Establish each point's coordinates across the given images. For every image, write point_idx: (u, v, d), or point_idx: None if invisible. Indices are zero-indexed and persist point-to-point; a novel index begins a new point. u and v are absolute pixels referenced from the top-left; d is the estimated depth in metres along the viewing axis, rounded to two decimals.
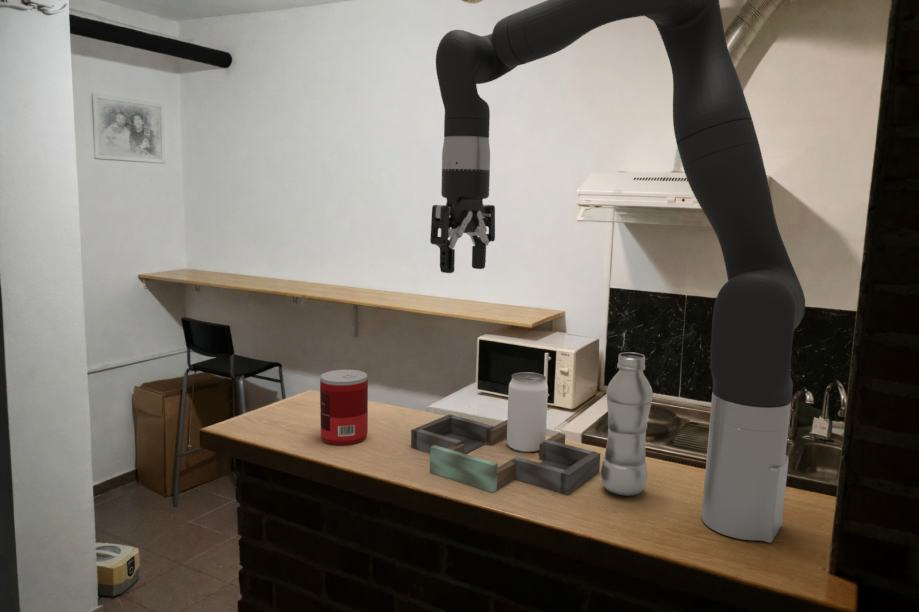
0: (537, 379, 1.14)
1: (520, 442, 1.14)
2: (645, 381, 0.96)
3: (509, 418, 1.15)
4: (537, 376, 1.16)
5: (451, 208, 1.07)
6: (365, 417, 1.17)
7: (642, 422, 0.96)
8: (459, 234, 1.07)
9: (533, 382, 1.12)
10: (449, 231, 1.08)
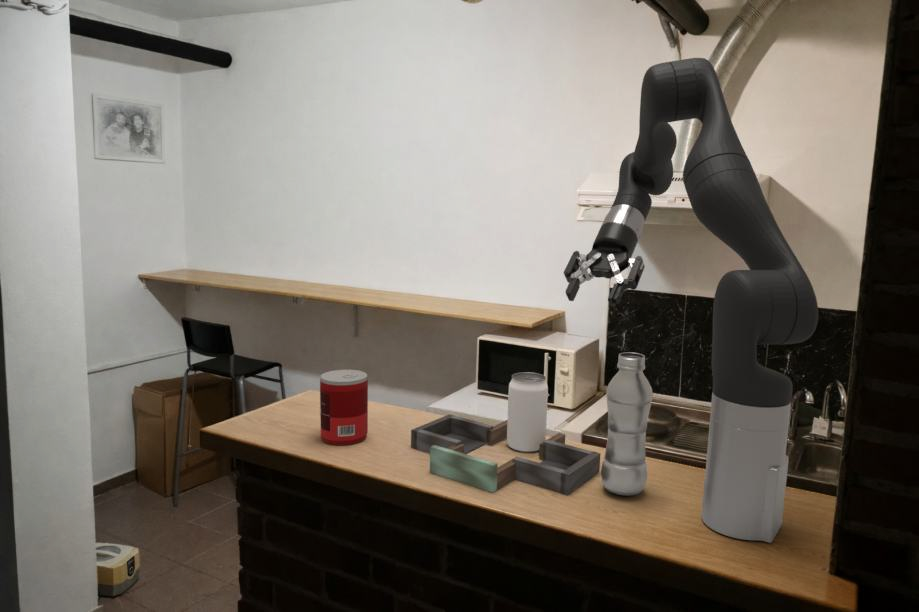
0: (537, 379, 1.14)
1: (520, 442, 1.14)
2: (645, 381, 0.96)
3: (509, 418, 1.15)
4: (537, 376, 1.16)
5: (587, 255, 1.33)
6: (365, 417, 1.17)
7: (642, 422, 0.96)
8: (581, 268, 1.30)
9: (533, 382, 1.12)
10: None
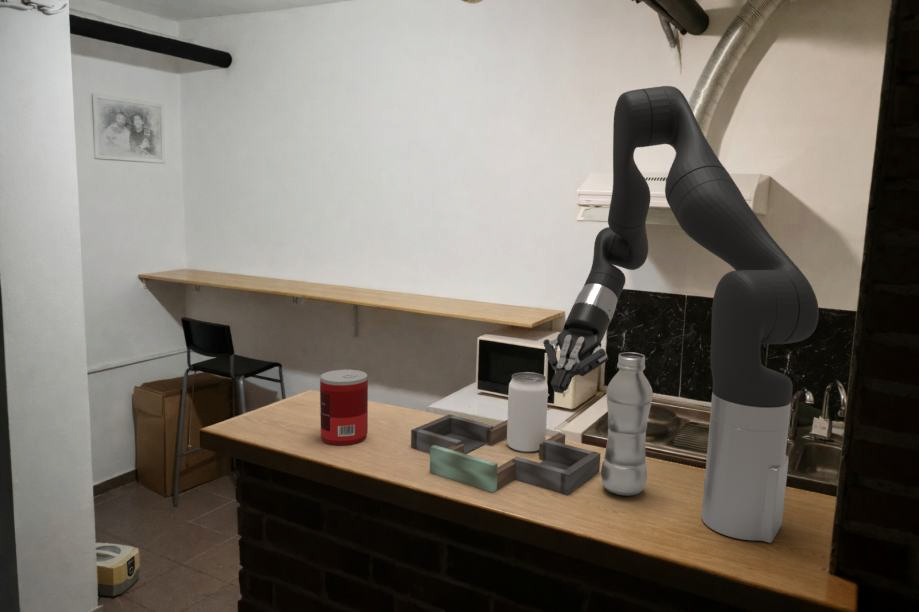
0: (537, 379, 1.14)
1: (520, 442, 1.14)
2: (645, 381, 0.96)
3: (509, 418, 1.15)
4: (537, 376, 1.16)
5: (557, 339, 1.30)
6: (365, 417, 1.17)
7: (642, 422, 0.96)
8: (562, 355, 1.26)
9: (533, 382, 1.12)
10: None
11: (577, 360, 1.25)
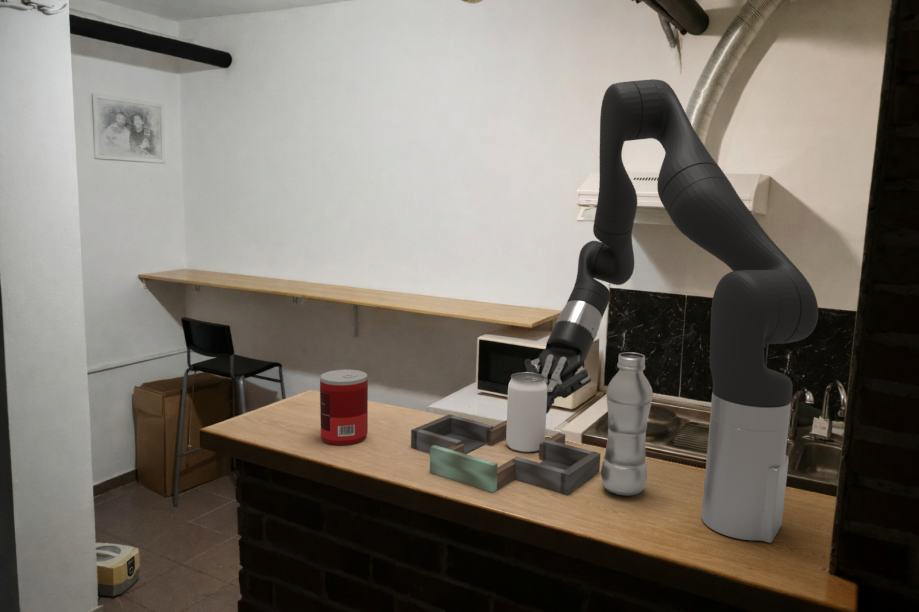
0: (536, 379, 1.14)
1: (520, 442, 1.13)
2: (645, 381, 0.96)
3: (508, 418, 1.15)
4: (536, 376, 1.16)
5: (539, 358, 1.25)
6: (365, 417, 1.17)
7: (642, 422, 0.96)
8: None
9: (532, 382, 1.12)
10: None
11: (559, 381, 1.20)
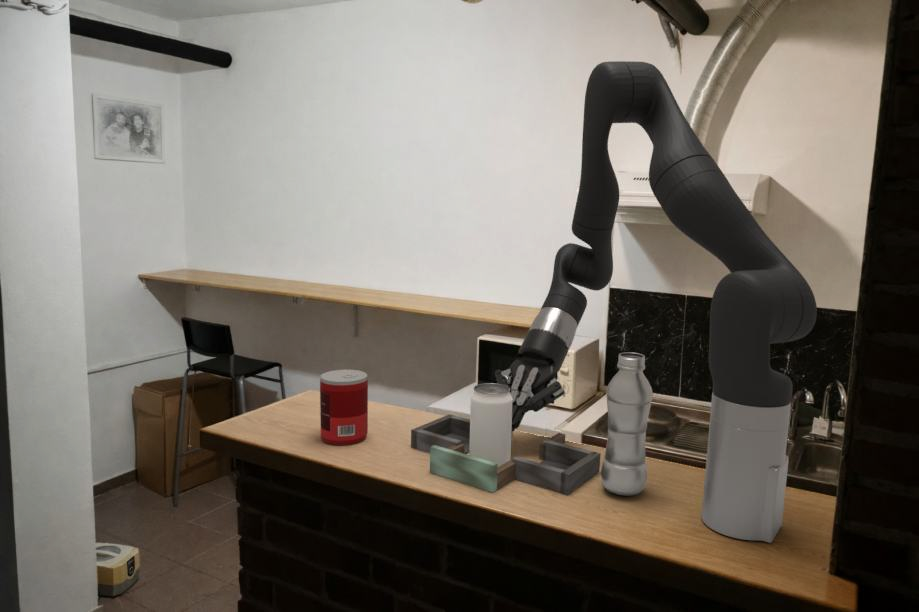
0: (500, 391, 1.07)
1: None
2: (645, 381, 0.96)
3: (470, 431, 1.08)
4: (503, 388, 1.09)
5: (510, 369, 1.18)
6: (365, 417, 1.17)
7: (642, 422, 0.96)
8: (514, 388, 1.13)
9: (492, 394, 1.05)
10: None
11: (530, 394, 1.13)
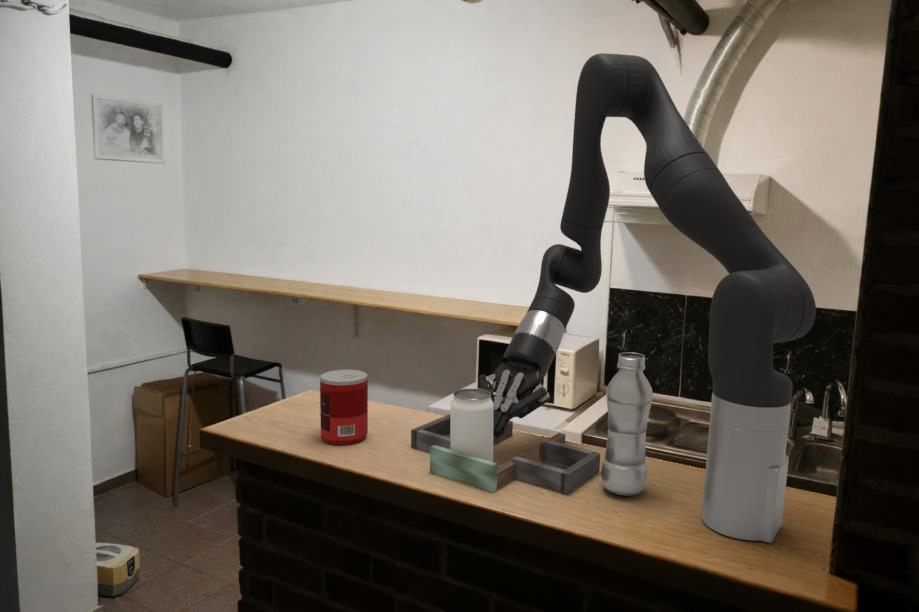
0: (480, 397, 1.03)
1: None
2: (645, 381, 0.96)
3: (450, 437, 1.05)
4: (484, 394, 1.05)
5: (495, 374, 1.14)
6: (365, 417, 1.17)
7: (642, 422, 0.96)
8: (498, 393, 1.10)
9: (469, 400, 1.02)
10: None
11: (515, 400, 1.09)
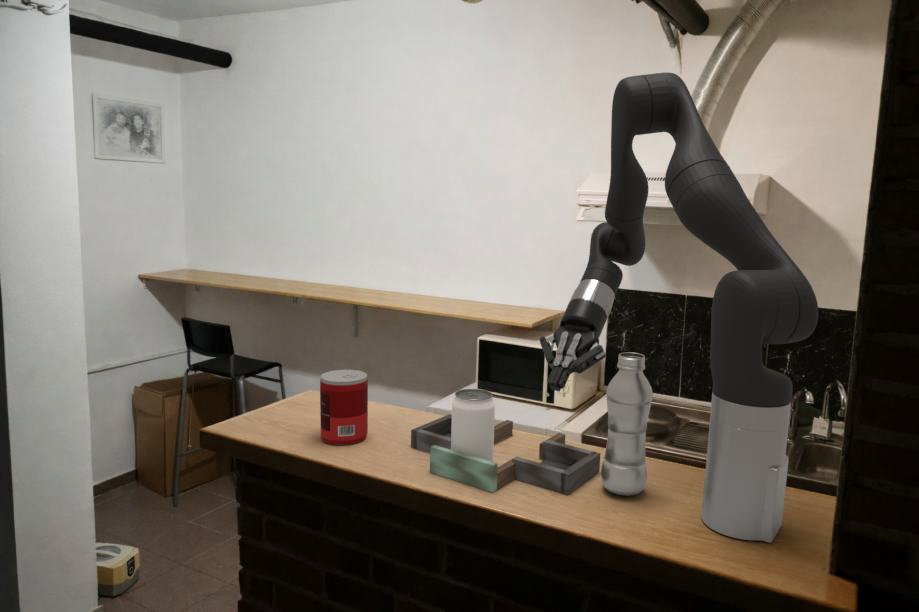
0: (481, 397, 1.04)
1: None
2: (645, 381, 0.96)
3: (451, 437, 1.05)
4: (486, 394, 1.05)
5: (553, 336, 1.27)
6: (365, 417, 1.17)
7: (642, 422, 0.96)
8: (559, 352, 1.23)
9: (471, 400, 1.02)
10: None
11: (574, 357, 1.22)
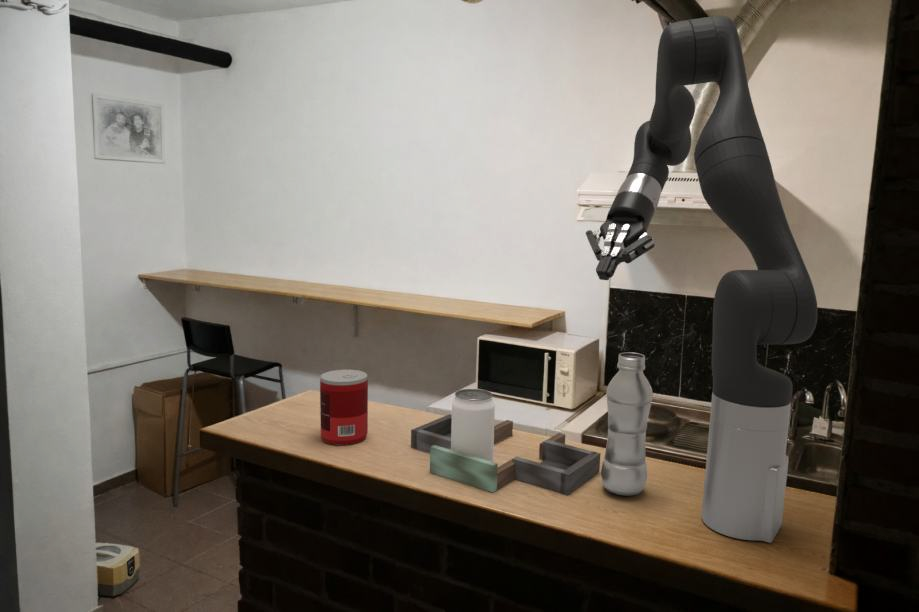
0: (481, 397, 1.04)
1: None
2: (645, 381, 0.96)
3: (451, 437, 1.05)
4: (486, 394, 1.05)
5: (600, 230, 1.26)
6: (365, 417, 1.17)
7: (642, 422, 0.96)
8: (607, 242, 1.22)
9: (471, 400, 1.02)
10: None
11: (622, 247, 1.21)
